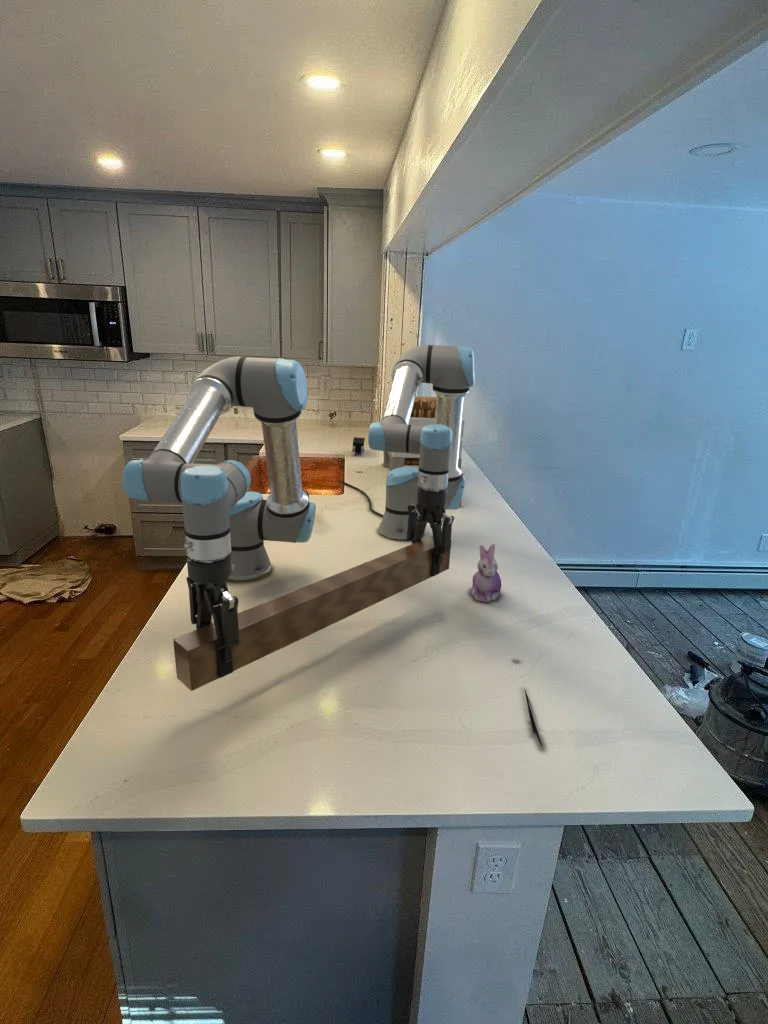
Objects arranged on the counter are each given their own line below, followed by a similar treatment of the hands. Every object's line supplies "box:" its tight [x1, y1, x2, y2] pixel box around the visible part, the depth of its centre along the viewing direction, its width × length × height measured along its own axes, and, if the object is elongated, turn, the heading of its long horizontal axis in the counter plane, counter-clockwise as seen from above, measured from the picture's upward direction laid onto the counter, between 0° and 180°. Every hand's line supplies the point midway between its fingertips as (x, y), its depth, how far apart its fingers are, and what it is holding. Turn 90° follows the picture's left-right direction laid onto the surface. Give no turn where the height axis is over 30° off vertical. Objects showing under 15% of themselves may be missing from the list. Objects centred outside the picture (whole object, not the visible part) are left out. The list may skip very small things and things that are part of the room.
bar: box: [172, 535, 452, 692], centre depth 128 cm, size 76×5×8 cm, turn 137°
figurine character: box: [351, 436, 365, 456], centre depth 305 cm, size 7×8×15 cm
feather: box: [515, 659, 545, 747], centre depth 116 cm, size 2×28×2 cm
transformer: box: [383, 395, 465, 472], centre depth 268 cm, size 34×33×41 cm
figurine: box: [471, 543, 502, 603], centre depth 157 cm, size 9×10×15 cm
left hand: (216, 666), depth 107 cm, fingers closed on bar, 5 cm apart
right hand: (426, 570), depth 150 cm, fingers closed on bar, 5 cm apart
